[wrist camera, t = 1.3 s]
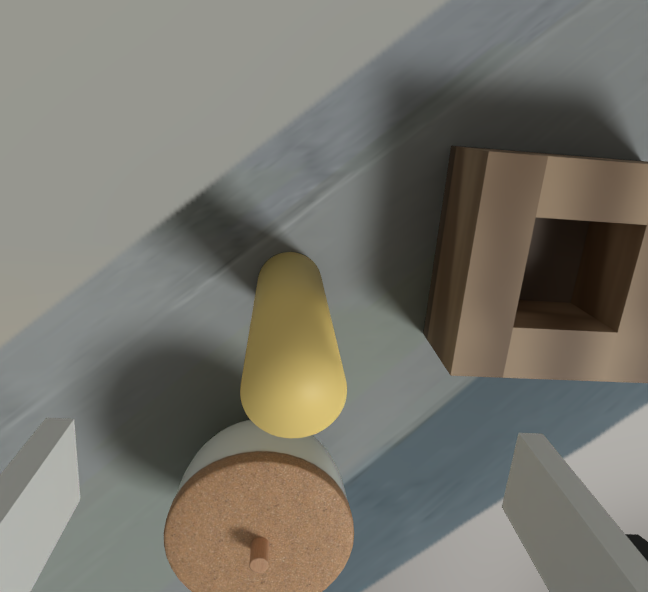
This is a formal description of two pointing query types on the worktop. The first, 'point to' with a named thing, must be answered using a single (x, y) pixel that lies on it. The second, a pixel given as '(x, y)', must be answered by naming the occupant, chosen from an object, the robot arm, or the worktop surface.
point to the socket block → (541, 267)
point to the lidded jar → (259, 515)
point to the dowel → (292, 352)
